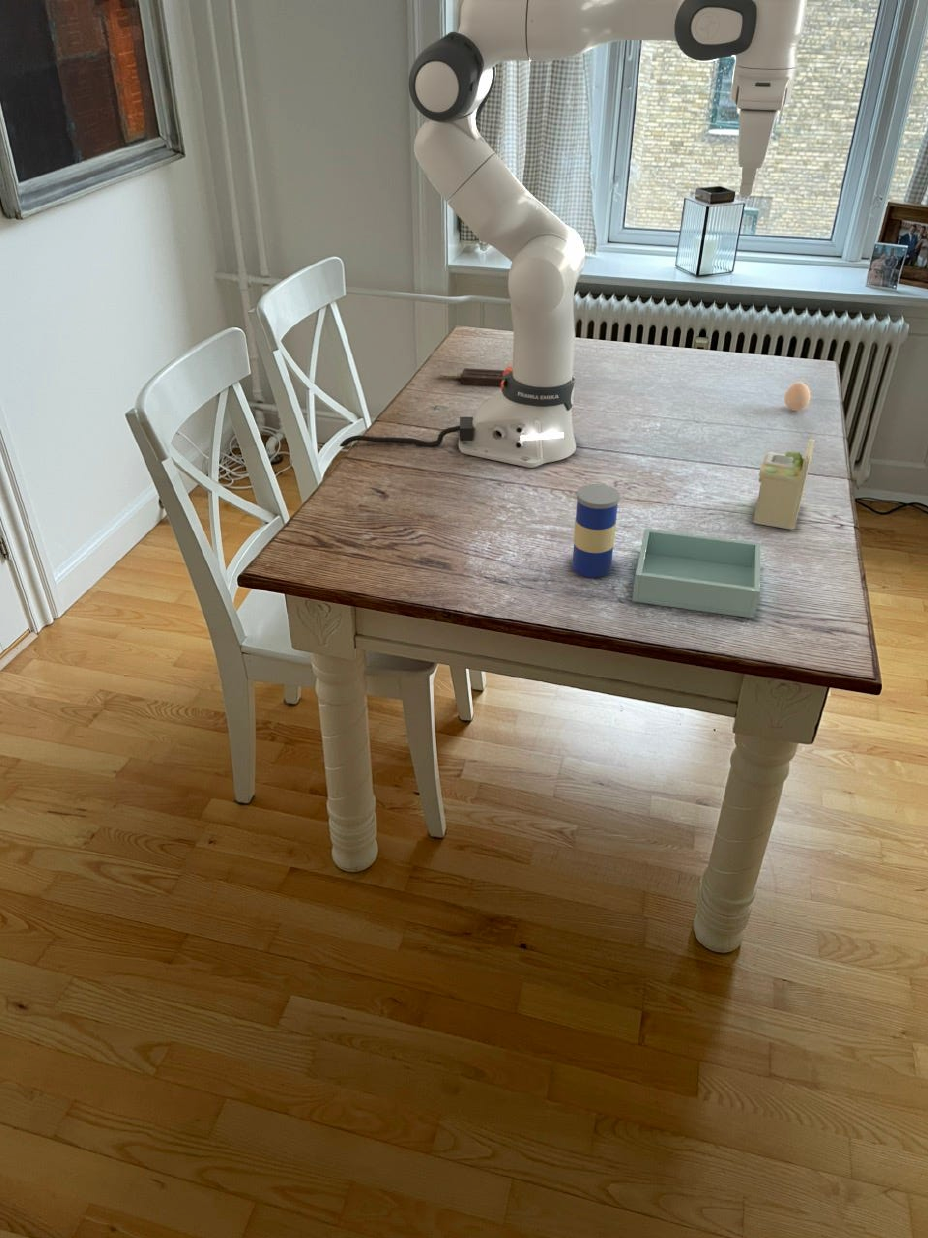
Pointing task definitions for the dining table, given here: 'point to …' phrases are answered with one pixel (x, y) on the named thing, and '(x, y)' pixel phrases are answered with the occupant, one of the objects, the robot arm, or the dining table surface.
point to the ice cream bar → (478, 376)
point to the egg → (797, 396)
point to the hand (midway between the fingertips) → (745, 188)
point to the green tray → (698, 573)
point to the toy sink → (782, 488)
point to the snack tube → (594, 530)
